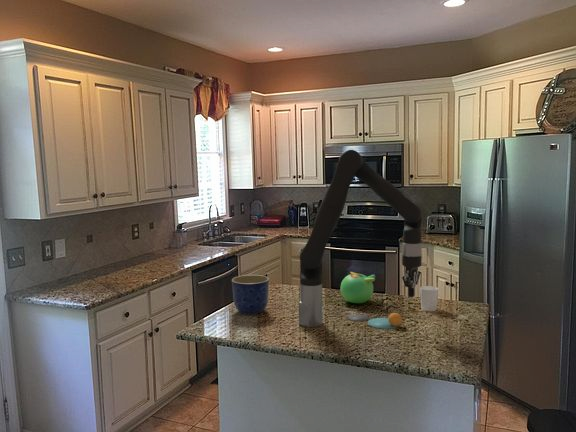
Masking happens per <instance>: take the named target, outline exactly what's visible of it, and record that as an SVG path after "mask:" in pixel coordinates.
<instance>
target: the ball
mask: <svg viewBox="0 0 576 432" xmlns="http://www.w3.org/2000/svg"><path fill="white" fill-rule="evenodd" d="M387 318H388V321H389V323H390V324H391V325H392V326H398V327H399V326H400V325H401V324H402V322H403V317H402V315H400V314H399V313H398V312H391V313H390V314H389V315H388V317H387Z"/></svg>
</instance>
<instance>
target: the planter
mask: <svg viewBox="0 0 576 432" xmlns="http://www.w3.org/2000/svg"><path fill="white" fill-rule="evenodd" d="M269 285H270V278H269V277H268V276H266V275H261V274H245V275H239V276H234V277H233V278H232V279H231V287H232V298H233V305H234V306H235V308H236V310H237V311H238V312H239V313H241V314H243V315H244V314H245V315H257V314H259V313H262V312H263V311H265V309H266V307H267V306H268V302H269V288H270V286H269Z"/></svg>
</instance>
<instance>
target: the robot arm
mask: <svg viewBox="0 0 576 432" xmlns="http://www.w3.org/2000/svg"><path fill="white" fill-rule="evenodd" d="M354 177H355V178H357V179H358V180H360V181H361V182H363V183H364V184H365V185H366V186H367V187H369V188H370V189H371V190H372V191H373V192H374V193H375V195H377V196H378V197H379V198H380V199H381V200H382V201H384V202H385V203H386V204H387V205H388V206H389V207H391V208H392V209H394V211H396V212H397V214H399V216H401V217H402V218H403V225H404V226H403V227H404V228H403V231H402V246H401V265H402V266H403V267H405V270H404V274H405V275H403V276H402V277H401V279H402V281H403V284H404V286H405V287H406V288H407V297H409V298H414V297H415V295H416V293H415V292H416V289H415V288H416V286H417V285H418V282H419V280H420V275H421V271H420V270H419V268H420V267H421V266H422V265H423V263H422V258H423V257H422V256H423V254H422V252H423V249H422V221H423V220H422V219H423V210H422V207H421V206H420V205H419V203H418V204H417V203H414V202H413V201H412V200H410V199H409V198H407V197H406V195H405V194H404V193H403V192H402V191H401V190H400V189H399V188H398V187H396V186H395V185H394V184H392V183H391V182H390V181H389V180H387V179H386V178H384V177H383V176H382V175H380V174H379V173H377V172H376V171H375V170H374V169H373V168H372V167H371V166H370V165H368V163H367V161H365V159H363V157H362V155H361V154H360V153H359V152H358V151H357V150H355V149H348V150H345V151H343V152H342V153H341V154H340V156H339V158H338V162H337V165H336V169H335V171H334V174H333V178H332V180H331V182H330V184H329V186H328V188H327V190H326V192H325V194H324V196H323V199H322V200H321V203H320V206H319V207H318V210H317V213H316V216H315V218H314V222H313V226H312V231H311V233H310V236H309V238H308V240H307V242H306V244H305V246H303V247H302V248H301V249H300V250H301V251H300V253H299V261H300V262H299V264H300V265H299V267H300V268H299V271H300V272H299V280H300V281H299V287H300V288H299V295H300V296H299V300H300V301H299V302H298V325H301V326H304V327H307V328H312V327H313V328H315V327H319V326H322V324H323V257H324V254H325V250H326V248H327V244H328V241H329V239H330V237H331V236H332V233H333V232H334V230H335V228H336V226H337V224H338V222H339V221H340V218H341V216H342V214H343V211H344V209H345V205H346V201H347V198H348V194H349V192H348V191H349V189H350V186H351V183H352V182H353V180H354Z"/></svg>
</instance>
